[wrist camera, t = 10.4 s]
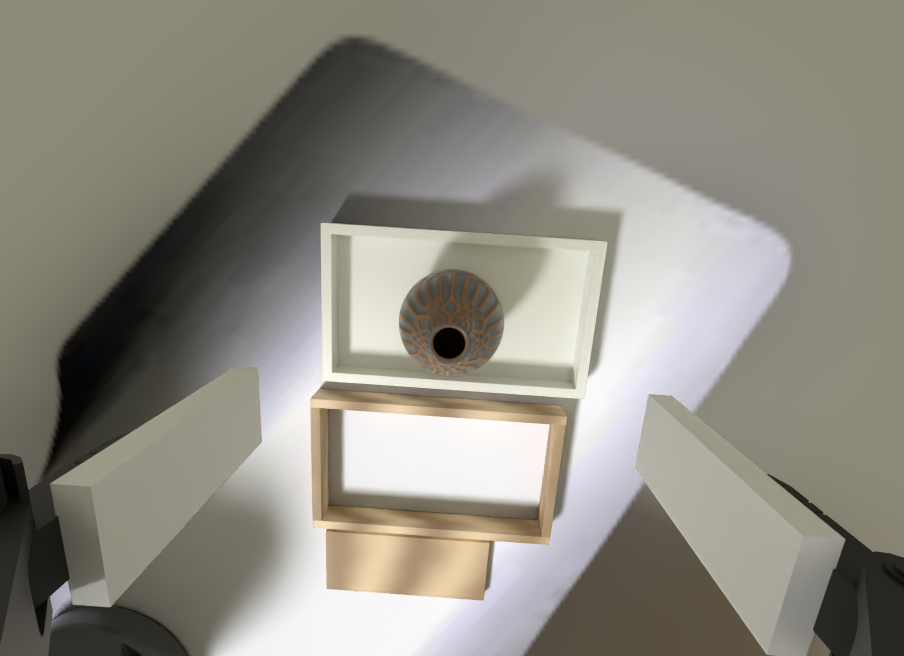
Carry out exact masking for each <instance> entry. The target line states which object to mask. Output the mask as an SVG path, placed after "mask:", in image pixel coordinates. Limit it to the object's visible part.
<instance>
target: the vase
mask: <svg viewBox="0 0 904 656" xmlns="http://www.w3.org/2000/svg"><path fill="white" fill-rule="evenodd" d="M503 331H504V314H503V309H502V306H501V303H500V301H499V299H498V297H497V295H496V293H495V292H494V290H493V289H492V288H491V287H490V286H489V285H488V284H487V283H486V282H485V281H484V280H483V279H481V278H480V277H478V276H476V275H474V274H472V273H470V272H467V271H463V270H458V269H446V270H440V271H437V272H434V273H431V274H429V275H427V276H425V277H424V278H422V279H421V280H419V281H418V282H417V283H416V284H415V285H414V286H413V287H412V288H411V289H410V291H409V292H408V294H407V295H406V297H405V299H404V301H403V303H402V306H401V309H400V314H399V332H400V336H401V340H402V342H403V345H404V347H405V349H406V351H407V352H408V354H409V355H410V356H411V358H412V359H413V360H414V361H415V362H416V363H417V364H418V365H420V366H421V367H422V368H424V369H426V370H427V371H430V372H432V373H434V374H438V375H442V376H461V375H465V374H468V373H471V372H473V371H475V370H477V369H479V368H480V367H482V366H483V365H484V364H485V363H487V362H488V361H489V360H490V359H491V357H492V356H493V355H494V353H495V352H496V350H497V349H498V347H499V345H500V342H501V340H502V336H503Z"/></svg>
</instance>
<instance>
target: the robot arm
mask: <svg viewBox="0 0 904 656" xmlns="http://www.w3.org/2000/svg"><path fill="white" fill-rule="evenodd" d="M261 442H262V438H261V418H260V398H259V378H258V368H254V367H239V366H235V367H233V368H232V369H230V370H229V371H227V372H226V373H224V374H222V375H221V376H219V377H218V378H216V379H214V380H213V381H211V382H210V383H208V384H207V385H205V386H203V387H202V388H200V389H199V390H197V391H196V392H194V393H192V394H191V395H189V396H188V397H186V398H184V399H183V400H181V401H180V402H178V403H177V404H175V405H173V406H172V407H170V408H169V409H167V410H165V411H164V412H162V413H161V414H159V415H158V416H156V417H154V418H153V419H151V420H150V421H148V422H147V423H145V424H143V425H142V426H140V427H139V428H137V429H135V430H134V431H132V432H129V433H127V434H124V435H122V436H119V437H117V438H114V439H111V440H109V441H107V442H105V443H104V444H102V445H101V446H99V447H97V448H96V449H94V450H92V451H91V452H90V454H86V455H84V456H83V457H81V458H79V459H78V460H76V461H75V462H74V464H70V465H68V466H66V467H65V468H63V469H62V470H60V471H58V472H57V473H55V474H53V475H52V476H50V477H49V478H47V479H45V480H44V481H42V482H40V483H39V484H37V485H36V486H34V487H32V488H31V489H30V490H28V487H27V482H26V477H25V472H24V467H23V462H22V460H21V458H20V457H18V456H15V455H6V454H5V455H4V454H0V656H187V655H186V653H185V651H184V650H183V648H182V647H181V645H180V644H179V643H178V641H177V640H176V639H175V638H174V637H173V636H172V635H171V634H170V633H169V632H168V631H167V630H165V629H164V628H163V627H162V626H160V625H159V624H157V623H156V622H154V621H152V620H151V619H149V618H147V617H145V616H143V615H141V614H138V613H136V612H133V611H130V610H127V609H123V608H118V607H113V606H112V605H113V604H114V603H115V602H116V601H117V600H118V598H119V597H120V596H121V595H122V594H123V593H124V592H125V591H126V590H127V589H128V588H129V586H130V585H131V584H132V583H133V582H134V581H135V580H136V579H137V578H138V577H139V575H140V574H141V573H142V572H143V571H144V570H145V569H146V568H147V567H148V566H149V565H150V563H151V562H152V561H153V560H154V559H155V558H156V557H157V556H158V555H159V554H160V553H161V551H162V550H163V549H164V548H165V547H166V546H167V545H168V544H169V543H170V542H171V541H172V539H173V538H174V537H175V536H176V535H177V534H178V533H179V532H180V531H181V530H182V528H183V527H184V526H185V525H186V524H187V523H188V522H189V521H190V520H191V519H192V518H193V516H194V515H195V514H196V513H197V512H198V511H199V510H200V509H201V508H202V507H203V506H204V504H205V503H206V502H207V501H208V500H209V499H210V498H211V497H212V496H213V495H214V493H215V492H216V491H217V490H218V489H219V488H220V487H221V486H222V485H223V484H224V483H225V481H226V480H227V479H228V478H229V477H230V476H231V475H232V474H233V473H234V472H235V471H236V469H237V468H238V467H239V466H240V465H241V464H242V463H243V462H244V461H245V460H246V459H247V457H248V456H249V455H250V454H251V453H252V452H253V451H254V450H255V449H256V448H257V446H258V445H259V444H260V443H261ZM635 468H636V470H637V471H638V473H639V474H640V476H641V477H642V478H643V480H644V481H645V483H646V484H647V485H648V487H649V488H650V490H651V491H652V493H653V494H654V495H655V497H656V498H657V500H658V501H659V502H660V504H661V505H662V507H663V508H664V510H665V511H666V512H667V514H668V515H669V517H670V518H671V519H672V521H673V522H674V524H675V525H676V527H677V528H678V529H679V531H680V532H681V534H682V535H683V536H684V538H685V539H686V540H687V542H688V543H689V545H690V546H691V548H692V549H693V550H694V552H695V554H696V555H697V556H698V558H699V559H700V561H701V562H702V563H703V565H704V566H705V568H706V569H707V570H708V572H709V573H710V575H711V576H712V577H713V579H714V580H715V582H716V583H717V585H718V586H719V588H720V589H721V590H722V592H723V593H724V594H725V596H726V597H727V599H728V600H729V602H730V603H731V604H732V606H733V607H734V609H735V610H736V612H737V613H738V614H739V616H740V617H741V619H742V620H743V622H745V624H746V626H747V627H748V628H749V630H750V631H751V633H752V634H753V636H754V637H755V638H756V640H757V641H758V643H759V644H760V646H761V647H762V648H763V650H764V651H765V653H766V654H767V655H778V656H806V655H807V652H808V649H809V646H810V643H811V640H812V637H813V634H814V632H815V633H816V634H817V635H818V637H819V638H820V639H821V640H822V641H823V642H824V643H825V645H826V646H827V647H828V648H829V649H830V650H831V652H830V654H829V656H904V558H903V557H899V556H896V555H893V554H890V553H882V552H876V551H875V552H872V551H871V550H870V549H868V548H867V547H866V546H865V545H863V544H862V543H861V542H860V541H858V540H857V539H856V538H855V537H854V536H852V535H851V534H850V533H848V532H847V531H846V530H845V529H843V528H842V527H841V526H840V525H839V524H837V523H836V522H835V521H834V520H832V519H831V518H830V517H828V516H827V515H823V512H822V511H821V510H820V509H818V508H817V507H816V506H815V505H814V504H812V503H809V502H808V500H807V499H806V498H805V497H803V496H802V495H801V494H800V493H799V492H797V491H796V490H795V489H794V488H792V487H791V486H789V485H787V484H785V483H784V482H782V481H780V480H778V479H776V478H775V477H773V476H771V475H769V474H766V473H764V472H763V471H762V470H761V469H760V468H758V467H757V466H756V465H755V464H754V463H752V462H751V461H750V460H749V459H747V458H746V457H745V456H744V455H743V454H741V453H740V452H739V451H738V450H737V449H735V448H734V447H733V446H732V445H730V444H729V443H728V442H727V441H726V440H724V439H723V438H722V437H721V436H720V435H718V434H717V433H716V432H715V431H714V430H712V429H711V428H710V427H709V426H707V425H706V424H705V423H704V422H702V421H701V420H700V419H699V418H698V417H697V416H695V415H694V414H693V413H692V412H691V411H689V410H688V409H687V408H686V407H685V406H683V405H682V404H681V403H680V402H678V401H677V400H676V399H675V398H674V397H672V396H666V395H651V394H649V395H648V401H647V406H646V411H645V417H644V422H643V427H642V433H641V438H640V443H639V449H638V454H637V459H636V465H635ZM67 580H68V583H69V589H70V594H71V599H72V605H84V606H85V607H80V608H76V609H72V610H70V611H67V612H65V613H63V614H61V615H60V616H58V617H57V618H55V619H54V620H53V621H52V613H53V610H52V605H51V600H50V596H51V595H52V594H53V593H54V592H55V591H56V590H57V589H58V588H60V587H61V586H62V585H63V584H64V583H65V582H66V581H67Z"/></svg>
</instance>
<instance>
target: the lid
mask: <svg viewBox="0 0 904 656" xmlns="http://www.w3.org/2000/svg"><path fill="white" fill-rule="evenodd" d="M488 553H489V540H476V539H462V538H449V537H435V536H421V535H408V534H394V533H380V532H367V531H353V530H339V529H327V531H326V568H327V589H337V590H350V591H363V592H377V593H390V594H404V595H417V596H430V597H444V598H457V599H471V600H484V593H485V583H486V573H487V563H488Z"/></svg>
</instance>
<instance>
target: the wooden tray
mask: <svg viewBox="0 0 904 656" xmlns="http://www.w3.org/2000/svg"><path fill="white" fill-rule="evenodd" d="M310 401H311V453H312V506H313V528H326V529H339V530H353V531H367V532H380V533H394V534H408V535H421V536H435V537H449V538H462V539H476V540H490V541H503V542H517V543H530V544H544V545H549V542H550V535H551V528H552V521H553V514H554V507H555V500H556V493H557V486H558V478H559V471H560V464H561V457H562V450H563V443H564V436H565V429H566V422H567V416H566V414H565V412H564V410H563V408H562V406H559V405H545V404H530V403H516V402H502V401H487V400H473V399H459V398H444V397H430V396H416V395H401V394H387V393H372V392H358V391H344V390H329V389H319V390H318V391H317V392H316V393H315V394H314V395H313V396H312V398H311V399H310ZM328 409H341V410H355V411H369V412H383V413H398V414H412V415H426V416H440V417H455V418H469V419H483V420H497V421H512V422H526V423H540V424H550V428H549V435H548V443H547V451H546V458H545V466H544V474H543V481H542V489H541V497H540V504H539V512H538V520H527V519H514V518H500V517H486V516H472V515H459V514H445V513H431V512H417V511H403V510H390V509H376V508H362V507H348V506H335V505H329V466H328Z"/></svg>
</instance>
